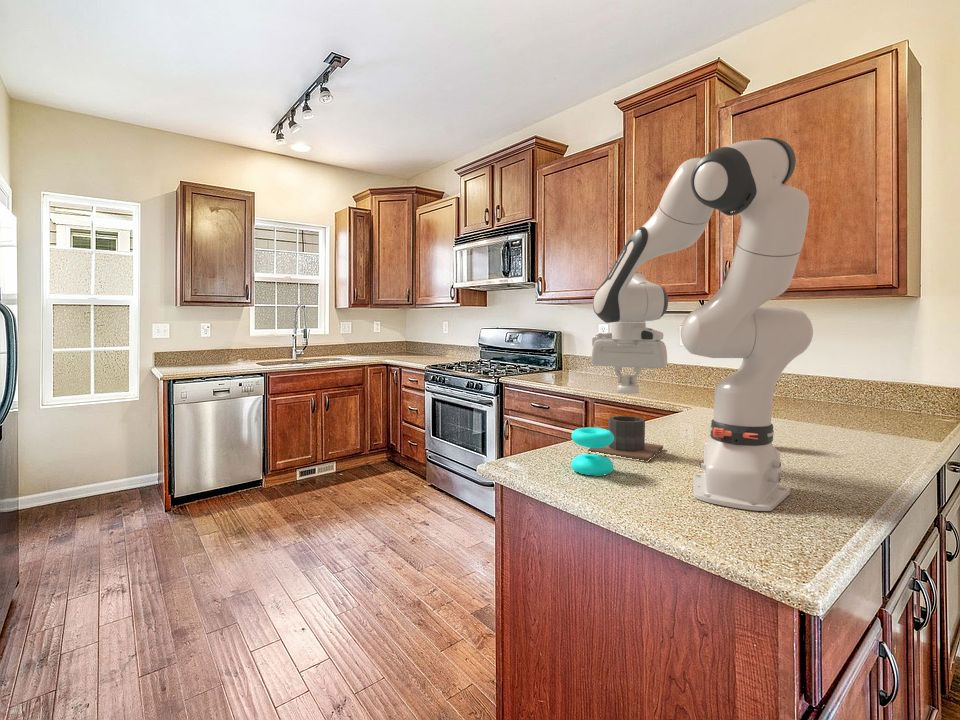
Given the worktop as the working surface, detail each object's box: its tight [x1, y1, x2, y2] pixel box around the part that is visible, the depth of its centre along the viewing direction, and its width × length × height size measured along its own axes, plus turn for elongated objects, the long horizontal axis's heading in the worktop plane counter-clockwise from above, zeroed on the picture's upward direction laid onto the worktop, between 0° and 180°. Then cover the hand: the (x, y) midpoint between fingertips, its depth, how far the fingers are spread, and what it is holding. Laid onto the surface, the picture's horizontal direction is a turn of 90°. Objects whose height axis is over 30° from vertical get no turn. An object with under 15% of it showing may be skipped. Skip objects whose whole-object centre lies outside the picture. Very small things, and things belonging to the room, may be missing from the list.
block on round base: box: [616, 374, 640, 395], centre depth 137 cm, size 6×6×5 cm
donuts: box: [570, 426, 614, 476], centre depth 120 cm, size 10×10×10 cm
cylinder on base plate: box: [587, 415, 664, 462], centre depth 138 cm, size 16×16×9 cm
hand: (627, 383), depth 137 cm, fingers closed on block on round base
